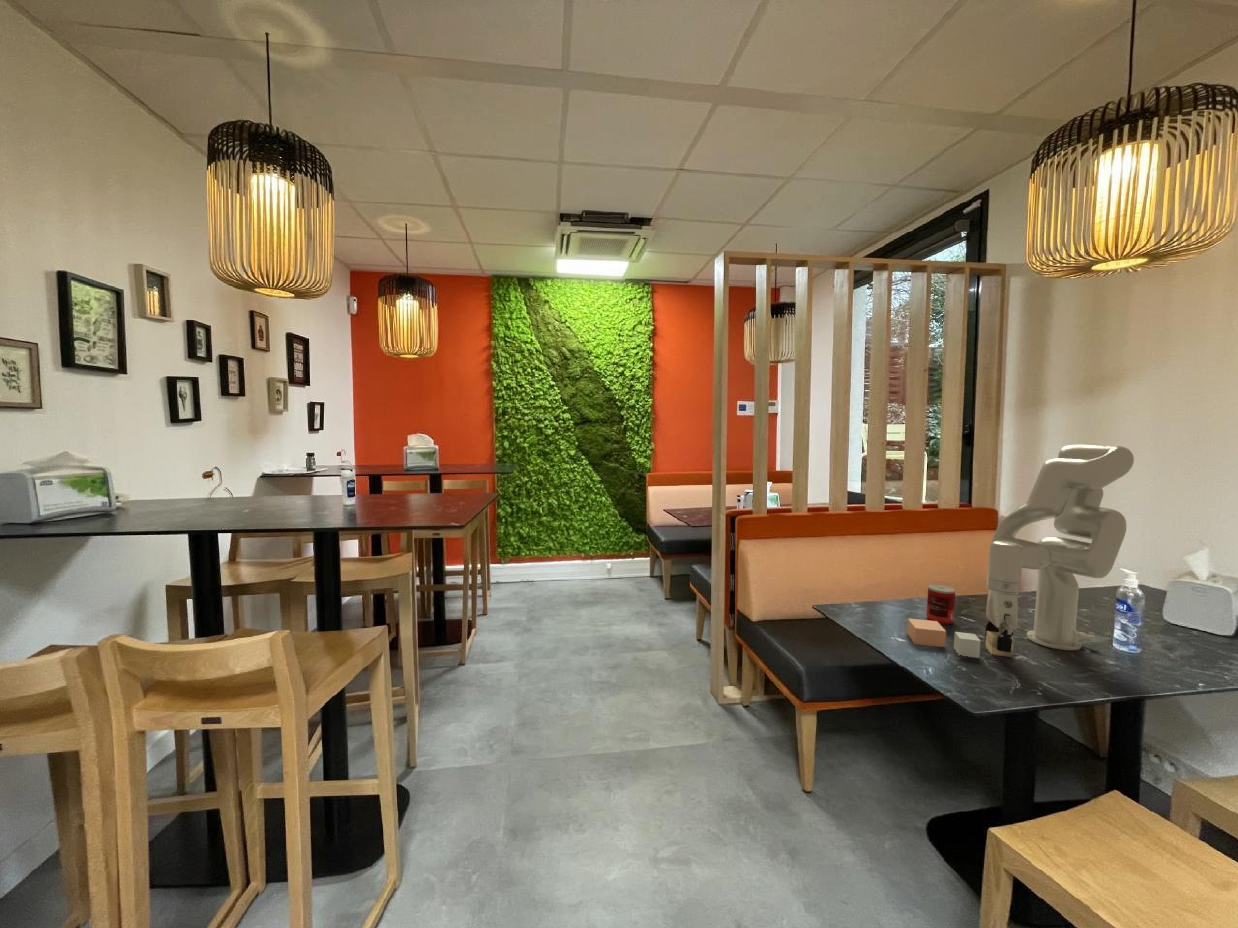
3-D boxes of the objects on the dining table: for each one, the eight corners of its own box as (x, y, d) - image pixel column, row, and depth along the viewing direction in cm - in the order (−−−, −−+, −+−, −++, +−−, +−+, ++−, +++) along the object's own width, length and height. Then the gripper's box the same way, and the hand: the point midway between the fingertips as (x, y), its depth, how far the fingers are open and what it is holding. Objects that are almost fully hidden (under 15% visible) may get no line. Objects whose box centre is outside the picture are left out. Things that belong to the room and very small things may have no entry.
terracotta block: (936, 637, 161) (937, 621, 161) (945, 647, 153) (946, 631, 153) (907, 634, 163) (908, 618, 163) (914, 644, 155) (915, 628, 155)
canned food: (945, 616, 178) (947, 584, 177) (958, 625, 170) (960, 592, 169) (921, 615, 179) (923, 583, 178) (933, 624, 171) (935, 591, 170)
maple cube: (1005, 650, 152) (1007, 633, 152) (1012, 657, 147) (1013, 640, 147) (985, 647, 154) (986, 630, 153) (991, 654, 149) (992, 637, 148)
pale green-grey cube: (973, 650, 151) (974, 634, 151) (979, 658, 146) (980, 640, 146) (953, 648, 153) (954, 631, 152) (958, 655, 148) (959, 638, 148)
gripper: (1031, 596, 139) (1025, 659, 141) (1007, 579, 156) (1002, 635, 157) (998, 592, 142) (992, 654, 143) (977, 575, 158) (972, 631, 159)
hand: (997, 644), depth 150 cm, fingers open, 9 cm apart
